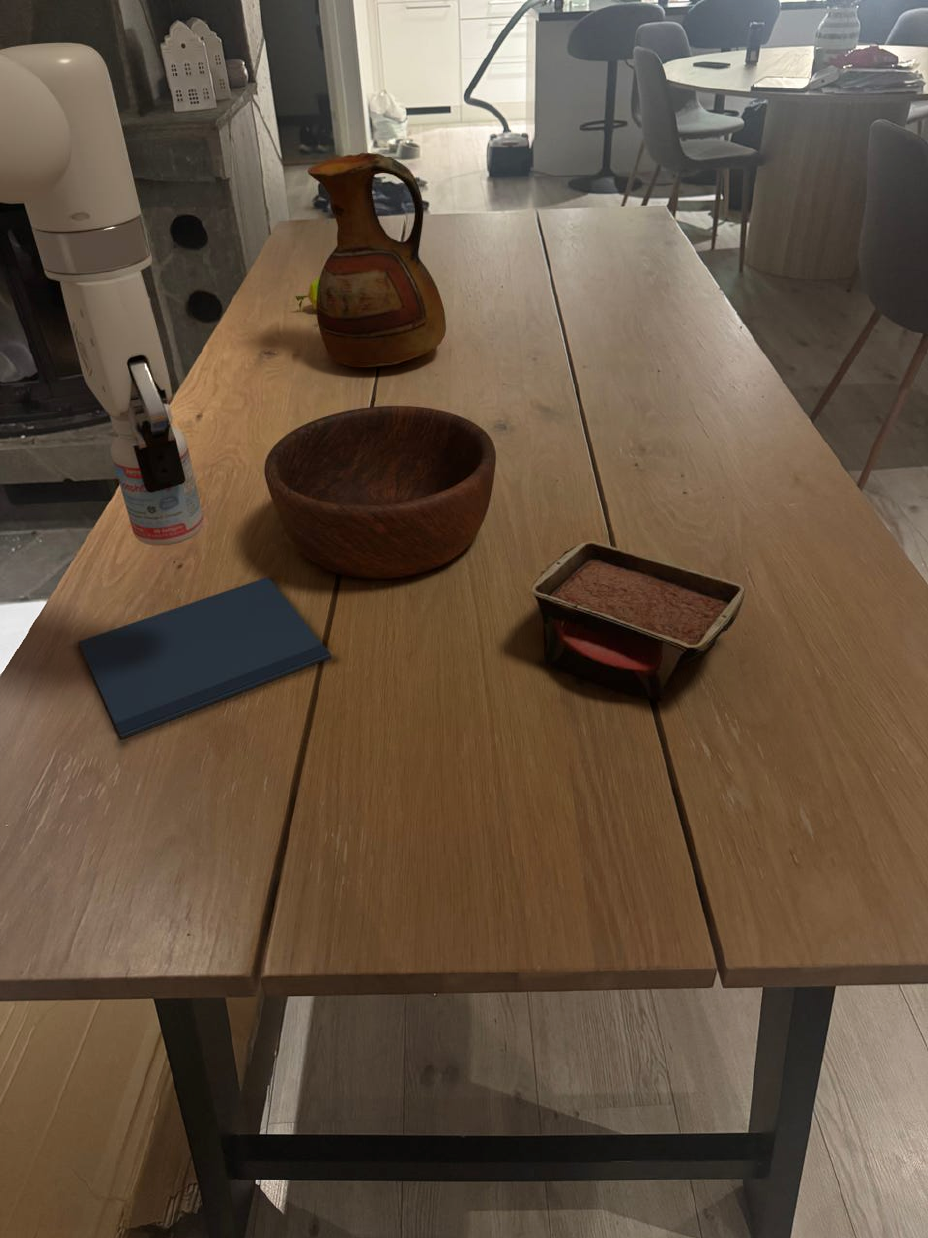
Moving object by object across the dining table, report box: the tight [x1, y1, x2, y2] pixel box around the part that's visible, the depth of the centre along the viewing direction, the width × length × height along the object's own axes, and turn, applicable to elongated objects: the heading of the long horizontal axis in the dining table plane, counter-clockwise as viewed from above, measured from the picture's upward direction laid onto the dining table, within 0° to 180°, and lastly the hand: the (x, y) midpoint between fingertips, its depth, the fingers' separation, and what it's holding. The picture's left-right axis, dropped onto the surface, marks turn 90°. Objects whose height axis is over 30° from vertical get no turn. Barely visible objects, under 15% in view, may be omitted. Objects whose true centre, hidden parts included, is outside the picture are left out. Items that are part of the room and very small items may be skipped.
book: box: [78, 576, 332, 740], centre depth 90 cm, size 20×16×1 cm
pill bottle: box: [109, 399, 204, 547], centre depth 77 cm, size 6×6×11 cm
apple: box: [294, 277, 320, 311], centre depth 168 cm, size 7×6×9 cm
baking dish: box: [530, 541, 746, 703], centre depth 85 cm, size 14×18×10 cm
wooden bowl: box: [263, 405, 497, 580], centre depth 103 cm, size 25×25×10 cm
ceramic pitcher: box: [307, 152, 447, 368], centre depth 141 cm, size 20×20×30 cm
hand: (153, 468), depth 77 cm, fingers closed on pill bottle, 6 cm apart
